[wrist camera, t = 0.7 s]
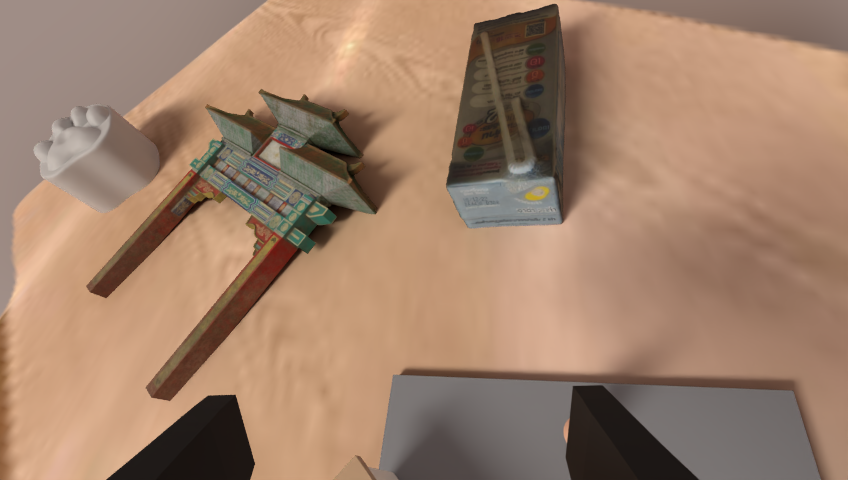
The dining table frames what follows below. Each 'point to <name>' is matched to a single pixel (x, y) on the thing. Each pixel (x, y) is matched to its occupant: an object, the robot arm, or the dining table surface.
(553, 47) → the dark olive rectangular block
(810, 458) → the grey plate with bar
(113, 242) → the dining table surface
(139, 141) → the lumpy-topped squat cylinder
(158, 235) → the miniature gate
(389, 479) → the gate
